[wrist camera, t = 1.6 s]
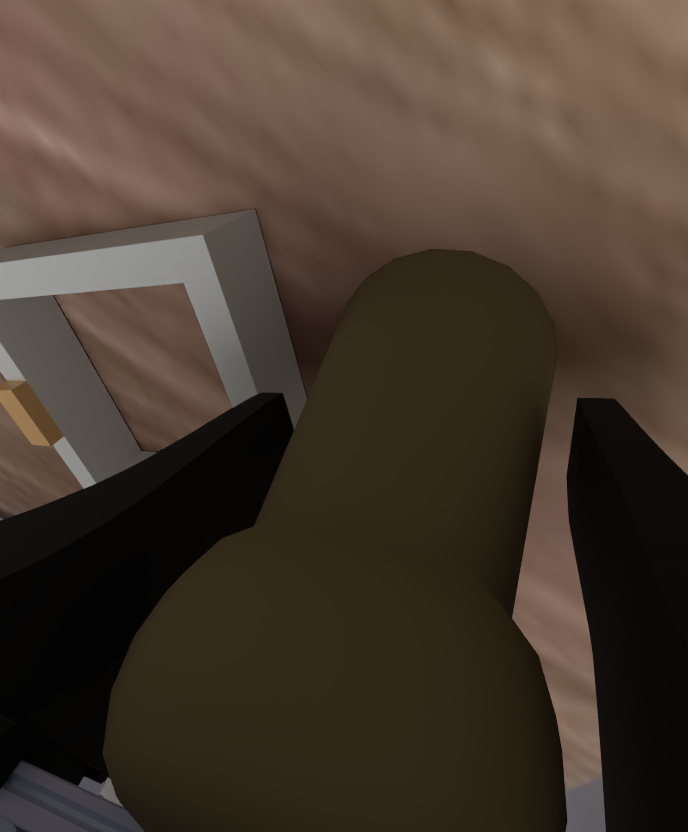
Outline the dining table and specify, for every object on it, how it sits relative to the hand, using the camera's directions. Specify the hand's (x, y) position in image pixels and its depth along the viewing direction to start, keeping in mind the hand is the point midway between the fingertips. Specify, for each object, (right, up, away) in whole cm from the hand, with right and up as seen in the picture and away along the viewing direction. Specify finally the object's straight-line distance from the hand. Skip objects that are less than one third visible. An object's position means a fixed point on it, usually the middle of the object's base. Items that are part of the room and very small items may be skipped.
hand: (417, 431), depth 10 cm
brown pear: (+1, +2, +3) cm, 4 cm away
